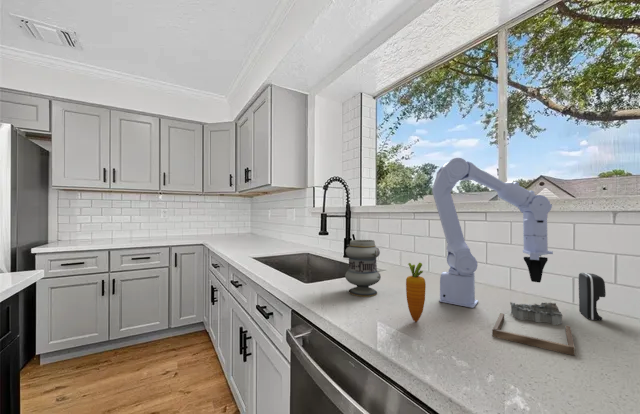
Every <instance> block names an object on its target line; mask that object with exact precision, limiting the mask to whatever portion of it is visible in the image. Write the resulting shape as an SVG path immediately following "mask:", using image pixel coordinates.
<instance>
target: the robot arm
mask: <svg viewBox="0 0 640 414" xmlns="http://www.w3.org/2000/svg"><path fill="white" fill-rule="evenodd" d="M459 181H473V182H476V183H478V184H480V185H482V186H484V187H486V188H488V189H490V190H493V191H494V192H496V195H497V196H498V198H499V199H502V200H503V201H505V202H507V203H508V204H510V205H513V206H514V207H516V208H517V209H518V210H519V211H520V212H521V214H522V220H523V221H522V223H523V225H522V227H523V228H522V229H523V230H522V231H523V232H522V235H523V237H522V238H523V240H522V241H523V243H522V244H523V249H522V253H524V254H526V255H529V256H523V260H524V262H525V264H526V266H527V269H528V273H529V278H530V280H531V282H533V283H534V282H535V283H541V282H542V277H543V274H544V273H543V272H544V268H545V266H546V264H547V263H548V259H549V257H545V256H546V255H554V252H553V250H548V249H549V248H548V247H549V246H548V244H549V243H548V214H549V212H551V210H552V208H553V204H551V202H550V200H549V198H548V197H547V196H545V195H541V194H537V195H536V194H535V191H534V190H532V189H531V190H528V189H527V188H525V187H523V186H521V185H520V183H519V182H518V181H506V182H505V181H502V180H500V179H499V178H497V177H495V176H494V175H492V174H490V173H489V172H487V171H485V170H484V169H482V168H480V167H479V166H477V165H476V164H474V163H473V162H472V161H471V162H470V161H467V160H466V159H464V158H462V157H454V158H451V159H450V160H449V161H448V162H446V163H444V164H443V165H442V166H441V167H440V168H439V169H438V170H437V172H436V176H435V179H434V182H433V185H432V187H431V192H432V197H433V199H434V202H435V203H434V204H435V206H436V210H437V213H438V217H439V220H440V223H441V226H442V231H443V233H444V237H445V241H446V244H447V245H446V252H447V255H446V256H447V257H446V263H447V266H449V269H448V271H442V272H441V274H440V276H439V300H438V302H439V303H445V304H451V305H456V306H462V307H466V308H471V309H473V308H475V306H476V305H477V304H478V303H479V300H478V299H476V298H475V297H476V295H475V293H476V291H475V290H476V286H475V283H476V282H475V281H476V279H475V278H476V277H475V272H476V270H477V269H478V261H477V260H478V259H476V257H475V256H474V255H473V254H472V252H471V250H470V249H471V248H470V247H469V246H468V244H467V242H466V241H465V237H464V234H463V233H464V232H463V230H462V226H461V224H460V221H459V216H458V214H457V210H456V207H455V203H454V200H453V197H452V193H451V192H452V190H453V189H454V187H455V186H456V184H458V182H459Z"/></svg>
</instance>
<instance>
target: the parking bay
mask: <svg viewBox="0 0 640 414" xmlns="http://www.w3.org/2000/svg"><path fill="white" fill-rule="evenodd" d="M504 322H505V313H502V312H501V313H500V314H499V315H498V317H497V320H496V322H495V324H494V325H493V327H492V329H491V331H492V332H491V333H492V334H491V336H492V337H494V338H498V339H502V340H506V341H510V342H511V341H512V342H515V343H519V344H523V345H527V346H531V347H536V348H541V349H545V350H549V351H554V352H556V353H557V352H558V353H561V354H567V355H570V356H573V357H574V356H576V355H575V344H574V338H573V334H572V329H571V326H570V325H565V335H566V343H567V344H565V343H560V342H555V341H553V340H552V341H551V340H546V339H543V338H542V339H541V338H538V337H533V336H529V335H524V334H520V333H515V332H511V331H506V330H502V329H501V328H502V327H503V324H504Z"/></svg>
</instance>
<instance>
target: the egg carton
mask: <svg viewBox="0 0 640 414" xmlns="http://www.w3.org/2000/svg"><path fill="white" fill-rule="evenodd" d="M509 303H510V308H511V309H510V313H511V314H512V317H513V318H515V319H518V320H521V321H524V320H530V321H533V322H536V323H541V322H542V323H543V322H544V323H549V324H551V325H555V326H558V325H562V323H563V321H562V320H563V318H562V317H564V316H563V314H562V313H561V311H560V310H559V307H558V306H557V303H555V302H554V303H553V302H541V304H538V303H534V304H528V303H519V304H518V303H516V302H512V301H510V302H509Z"/></svg>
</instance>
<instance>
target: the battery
mask: <svg viewBox="0 0 640 414" xmlns="http://www.w3.org/2000/svg"><path fill="white" fill-rule="evenodd" d="M606 295H607V293H606V283H605V280H604V279H603V277H602V276H600V275H597V274H595V273H589V272H579V274H578V305H579V306H578V310H579V313H580V314H581V315H582V316H584V317H585V318H586V319H587V320H591V321H602V320H603V317H602V316H601V315H600V314H599V313H598V309H597V302H598V301H599V300H600V298H606Z"/></svg>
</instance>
